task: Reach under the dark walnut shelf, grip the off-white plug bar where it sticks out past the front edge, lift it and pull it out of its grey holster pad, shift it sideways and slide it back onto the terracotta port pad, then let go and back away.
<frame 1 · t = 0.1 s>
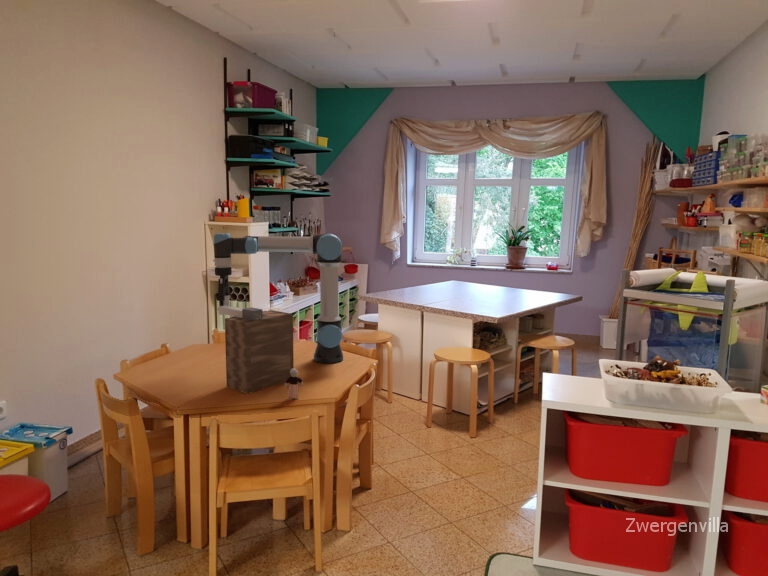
hand: (224, 311, 262), 28 cm above the table, tool pointing down, fingers open, 13 cm apart
plug bar: (239, 315, 241), point 30 cm above the table, touching walnut shelf
grandmother figurine: (294, 399, 226), on the table
walnut shelf: (261, 382, 246), on the table
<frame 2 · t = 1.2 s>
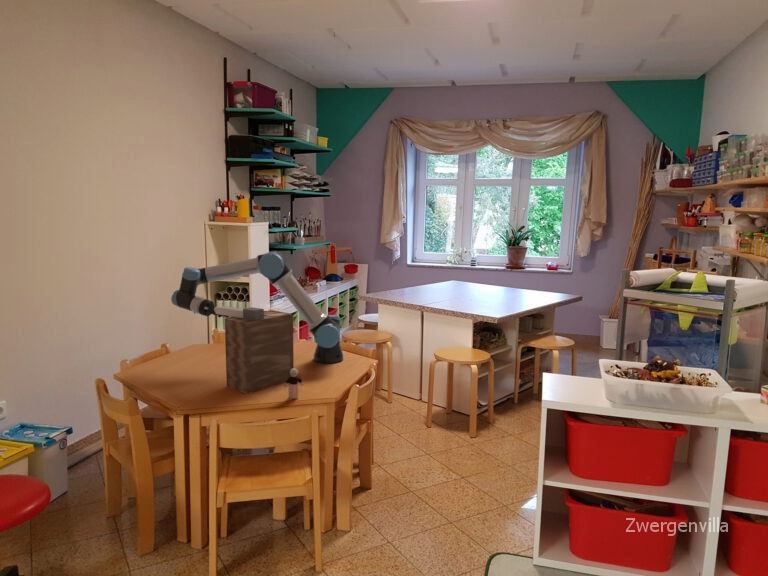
hand: (242, 319, 255), 26 cm above the table, tool horizontal, fingers open, 13 cm apart
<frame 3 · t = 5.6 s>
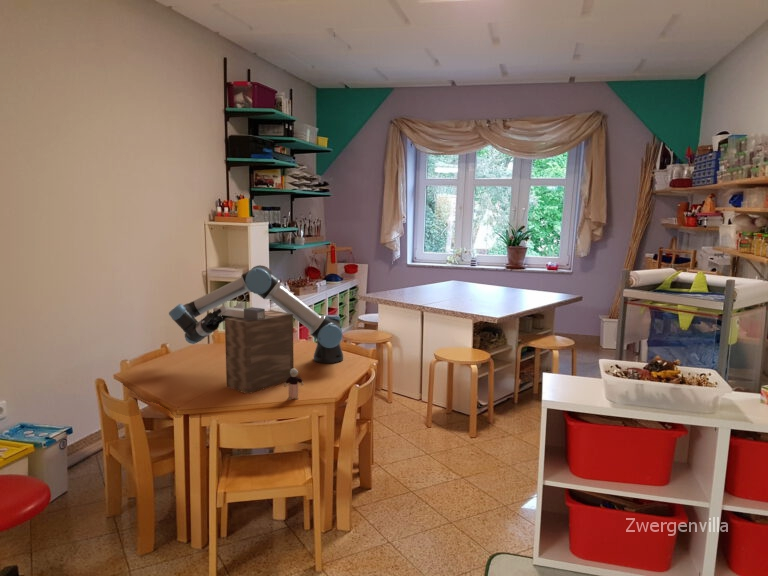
hand: (234, 306, 242), 34 cm above the table, tool pointing upward, fingers open, 8 cm apart
plug bar: (239, 316, 240), point 30 cm above the table, touching gripper, walnut shelf
everything else where it was.
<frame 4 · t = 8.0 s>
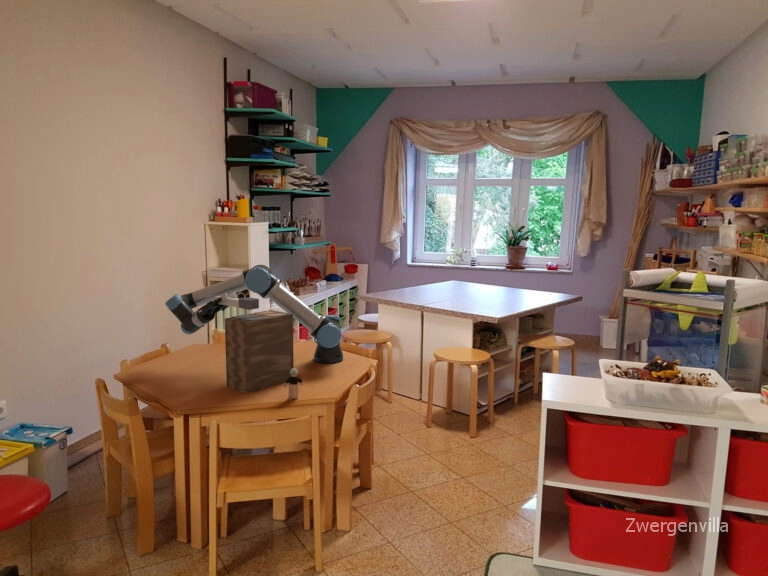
hand: (231, 295, 242), 39 cm above the table, tool pointing upward, fingers closed on plug bar, 4 cm apart
plug bar: (236, 305, 241), point 34 cm above the table, touching gripper
everything else where it was.
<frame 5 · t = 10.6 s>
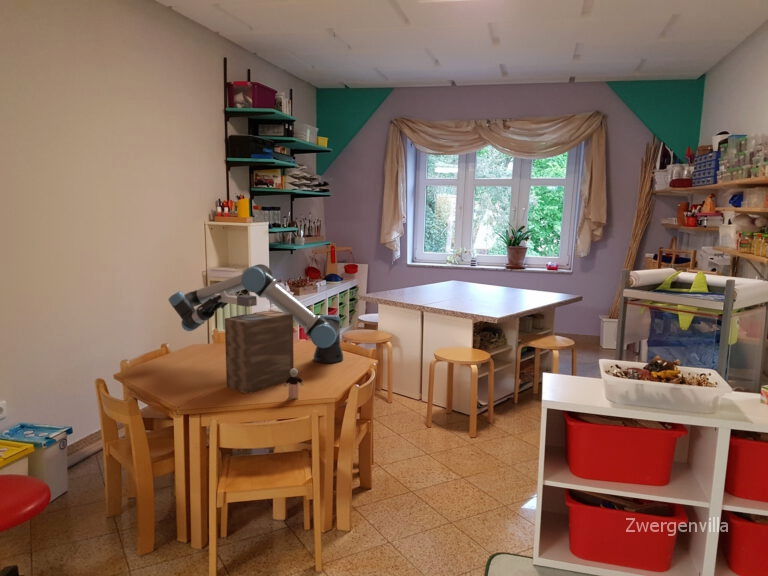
hand: (229, 292, 252), 38 cm above the table, tool pointing upward, fingers closed on plug bar, 4 cm apart
plug bar: (234, 303, 250), point 34 cm above the table, touching gripper
everything else where it was.
when the fingers open (36 cm above the table, at t = 15.0 s): plug bar drops 2 cm, resting on walnut shelf.
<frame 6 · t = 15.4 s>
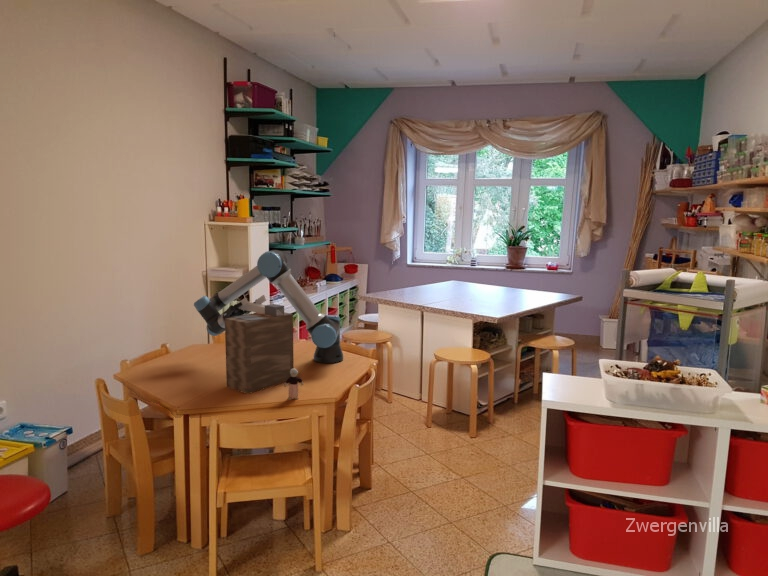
hand: (255, 299, 251), 36 cm above the table, tool pointing upward, fingers open, 9 cm apart
plug bar: (261, 312, 250), point 30 cm above the table, touching walnut shelf
everything else where it was.
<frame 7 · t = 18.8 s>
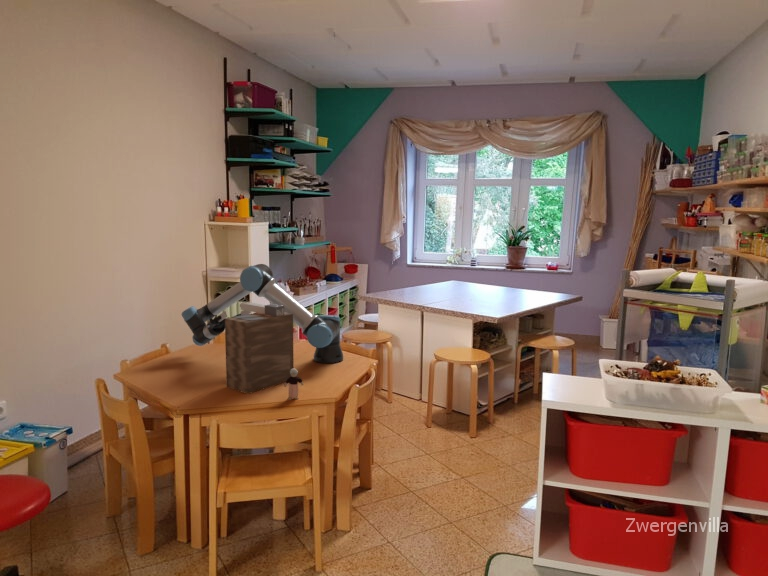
hand: (237, 311, 260), 28 cm above the table, tool pointing upward, fingers open, 13 cm apart
nothing on the table moved.
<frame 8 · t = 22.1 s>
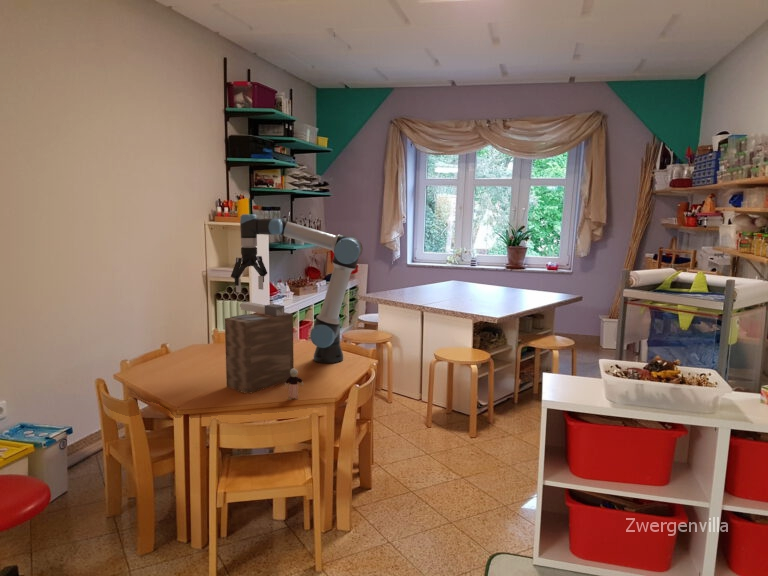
hand: (249, 290, 269), 37 cm above the table, tool pointing down, fingers open, 13 cm apart
nothing on the table moved.
at the end: plug bar inside the target area on the walnut shelf (0.3 cm from its centre), point 30.2 cm above the walnut shelf's base; plug bar tilted 0°; the gripper is holding nothing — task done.
